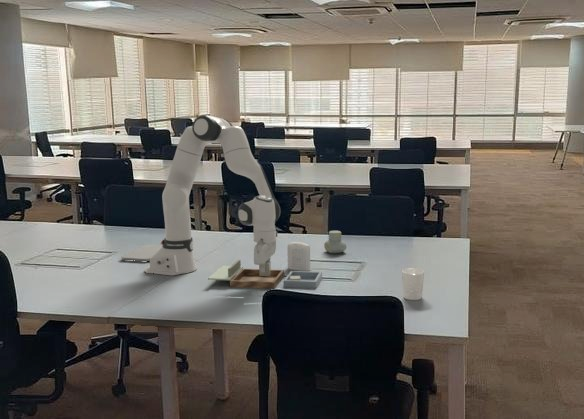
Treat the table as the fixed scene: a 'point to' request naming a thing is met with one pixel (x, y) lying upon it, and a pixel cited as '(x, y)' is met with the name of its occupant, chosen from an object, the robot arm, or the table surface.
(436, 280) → the table surface
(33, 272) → the table surface
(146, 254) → the tablet
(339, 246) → the air freshener
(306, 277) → the bin
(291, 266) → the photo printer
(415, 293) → the white cup
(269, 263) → the beige small block
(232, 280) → the wooden tray
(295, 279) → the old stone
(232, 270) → the lid
